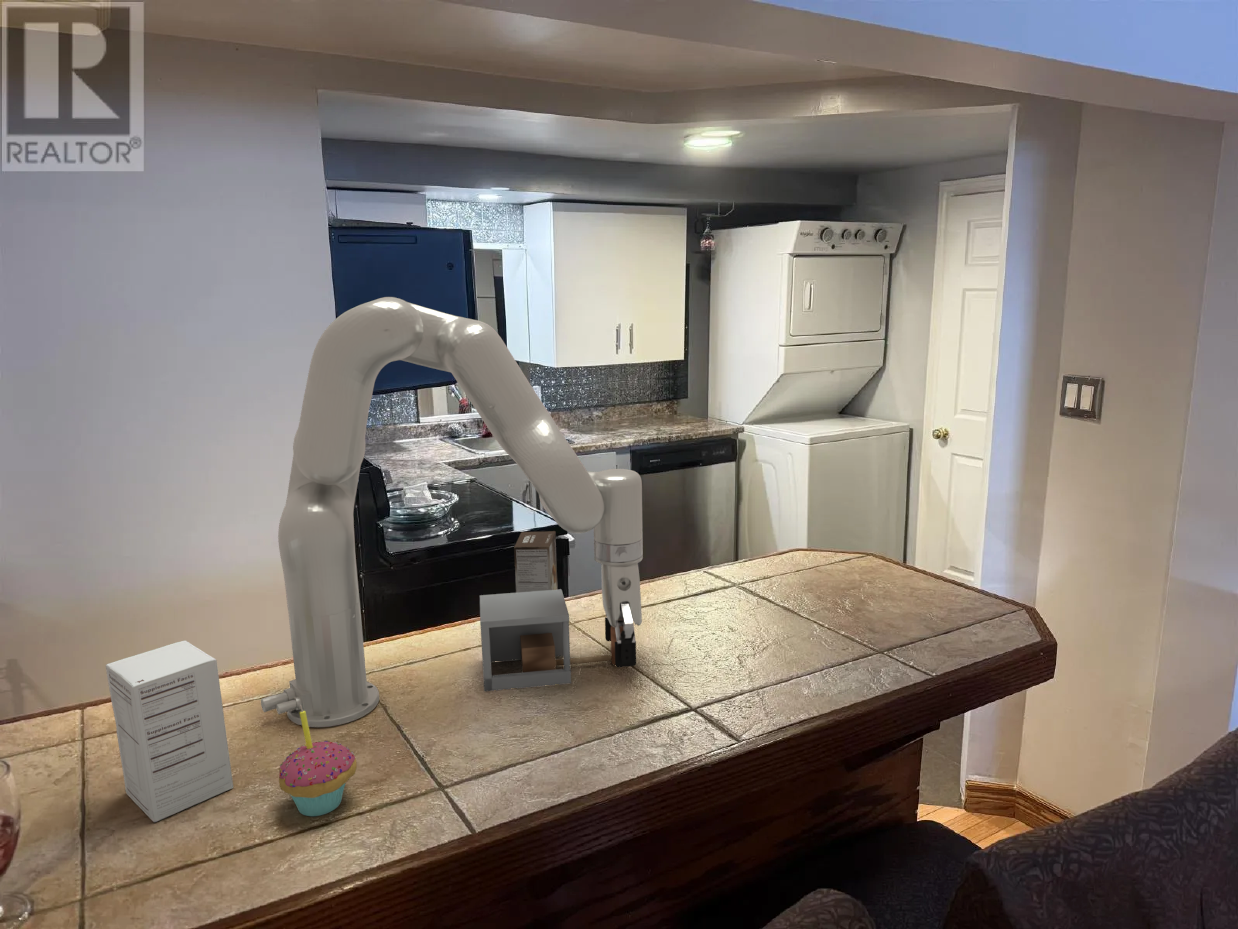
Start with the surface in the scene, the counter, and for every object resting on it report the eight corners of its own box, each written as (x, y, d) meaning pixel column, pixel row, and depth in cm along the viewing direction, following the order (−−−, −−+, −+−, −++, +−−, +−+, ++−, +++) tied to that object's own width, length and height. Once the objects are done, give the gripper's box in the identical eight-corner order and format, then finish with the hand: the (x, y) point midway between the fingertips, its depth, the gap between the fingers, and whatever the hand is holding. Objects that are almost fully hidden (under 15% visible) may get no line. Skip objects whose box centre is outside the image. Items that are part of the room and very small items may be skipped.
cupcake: (266, 810, 96) (255, 715, 93) (328, 775, 103) (319, 685, 100) (313, 836, 91) (302, 737, 89) (375, 797, 98) (366, 703, 96)
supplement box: (235, 788, 100) (219, 659, 97) (153, 825, 94) (133, 687, 90) (202, 760, 107) (186, 637, 103) (123, 792, 100) (103, 662, 96)
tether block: (523, 679, 127) (521, 642, 126) (521, 665, 132) (519, 629, 131) (631, 668, 130) (631, 632, 129) (626, 655, 135) (625, 620, 134)
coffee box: (524, 615, 152) (520, 530, 149) (559, 614, 152) (556, 530, 149) (517, 635, 143) (513, 546, 140) (554, 635, 143) (551, 546, 140)
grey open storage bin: (484, 691, 123) (480, 622, 121) (483, 659, 134) (479, 595, 132) (571, 683, 126) (568, 614, 123) (563, 652, 136) (561, 589, 134)
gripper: (653, 565, 121) (654, 674, 124) (632, 532, 137) (633, 629, 141) (602, 569, 119) (605, 679, 123) (586, 535, 136) (589, 633, 140)
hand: (620, 652), depth 132 cm, fingers open, 9 cm apart
